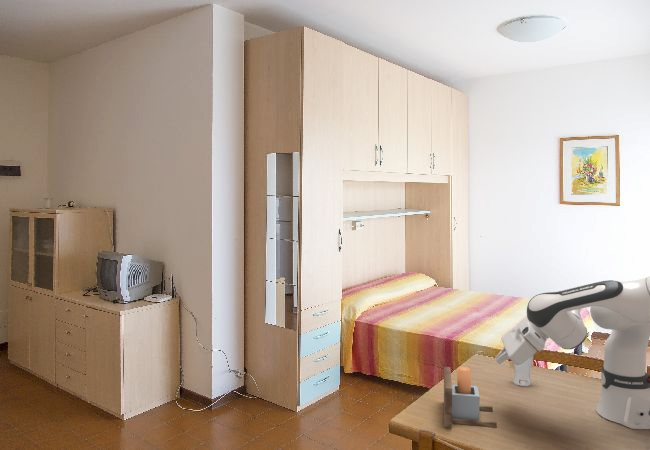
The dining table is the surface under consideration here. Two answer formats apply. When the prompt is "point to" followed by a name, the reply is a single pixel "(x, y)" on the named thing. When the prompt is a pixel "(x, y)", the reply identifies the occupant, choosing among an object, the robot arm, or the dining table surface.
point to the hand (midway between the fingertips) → (497, 361)
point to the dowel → (464, 380)
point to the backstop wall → (448, 406)
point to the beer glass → (523, 373)
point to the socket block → (465, 404)
